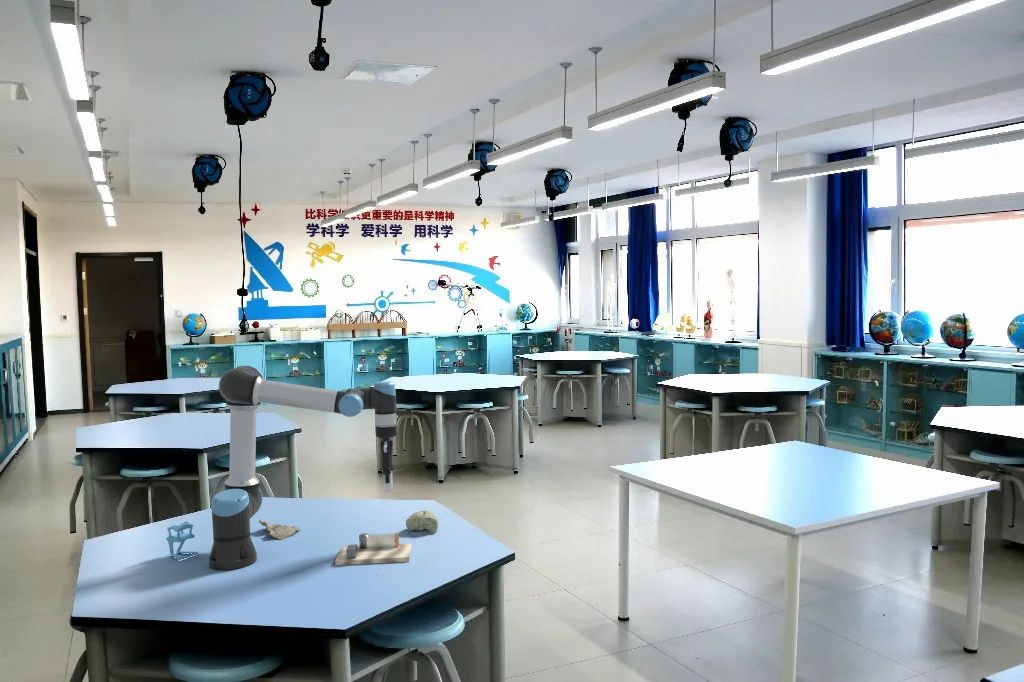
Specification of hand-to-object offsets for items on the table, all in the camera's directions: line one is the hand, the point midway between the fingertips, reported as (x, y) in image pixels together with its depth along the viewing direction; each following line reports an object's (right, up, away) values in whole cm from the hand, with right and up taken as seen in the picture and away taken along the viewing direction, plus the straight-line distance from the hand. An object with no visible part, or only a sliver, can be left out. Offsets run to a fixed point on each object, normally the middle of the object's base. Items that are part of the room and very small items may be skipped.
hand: (388, 490), depth 272 cm
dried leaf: (-44, -20, +15) cm, 50 cm away
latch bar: (-2, -18, -9) cm, 20 cm away
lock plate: (-2, -19, -14) cm, 24 cm away
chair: (-70, -21, -9) cm, 74 cm away
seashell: (+11, -18, +13) cm, 25 cm away
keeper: (-9, -18, -18) cm, 27 cm away
